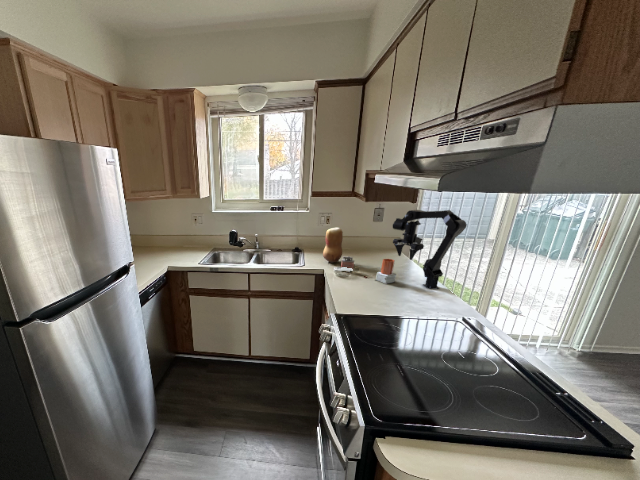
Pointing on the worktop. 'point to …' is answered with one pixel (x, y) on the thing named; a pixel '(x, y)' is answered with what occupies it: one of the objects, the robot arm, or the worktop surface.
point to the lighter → (348, 262)
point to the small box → (385, 277)
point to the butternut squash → (333, 245)
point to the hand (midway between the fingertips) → (405, 257)
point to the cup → (387, 266)
